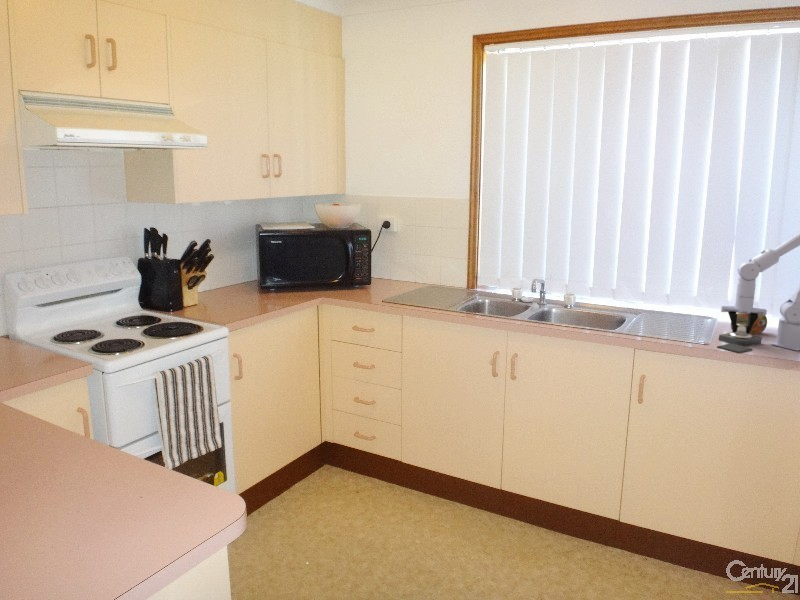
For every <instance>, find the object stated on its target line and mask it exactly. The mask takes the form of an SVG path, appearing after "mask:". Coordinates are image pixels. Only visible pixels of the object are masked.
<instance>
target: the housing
mask: <svg viewBox="0 0 800 600" xmlns="http://www.w3.org/2000/svg"><path fill="white" fill-rule="evenodd" d="M729 334H730V332H728V333H727V332H726V333H723V334H719V335H718V341H720V342H721V341H722V342H724V343H727V344H730V343H732V344H736V345H740V346H744V347H749V346H755V345H758V344H762V339H763V338H762V337H760V336H756V335H752V338H750V339H740V338H734V337H731V336H730V335H729Z"/></svg>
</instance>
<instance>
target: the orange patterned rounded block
mask: <svg viewBox="0 0 800 600" xmlns="http://www.w3.org/2000/svg"><path fill="white" fill-rule="evenodd" d="M767 318H768V317H767V315H761V314H758V318H757V320H756V321H755V322H754V324H753V326H752V328H751V330H750V333H749V334H751V335H758V334H761V333H763V332H764V331H765V330H766V328H767V325H768V319H767ZM736 324H746V325H748V313H737V321H736ZM730 329H731V330H732V323H731V322H730Z"/></svg>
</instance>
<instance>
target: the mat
mask: <svg viewBox="0 0 800 600" xmlns="http://www.w3.org/2000/svg"><path fill="white" fill-rule="evenodd" d="M716 348H717V349H721V350H724V351H725V350H726V351H729V352H733V353H737V354H741V353H746V352H750V351H753V348H751V347H749V346H745V347H744V346H740V345H736V344H732V343H726V344H721V345H717V346H716Z"/></svg>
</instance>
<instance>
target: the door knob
mask: <svg viewBox="0 0 800 600" xmlns="http://www.w3.org/2000/svg"><path fill="white" fill-rule="evenodd" d="M747 329H748V325H746V324H736V331H735V333H733V332H732V331H731V332H729V333H730V334H729V335H730V336H731V337H734V338H740V339H750V338H752V336H753V334H747Z"/></svg>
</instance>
